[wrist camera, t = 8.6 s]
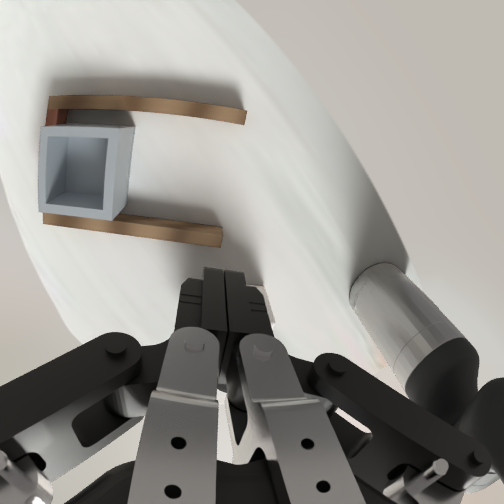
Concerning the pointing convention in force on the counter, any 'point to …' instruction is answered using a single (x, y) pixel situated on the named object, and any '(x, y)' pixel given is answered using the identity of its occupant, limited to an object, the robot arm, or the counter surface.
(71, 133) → the box
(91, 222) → the bay
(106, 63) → the counter surface
